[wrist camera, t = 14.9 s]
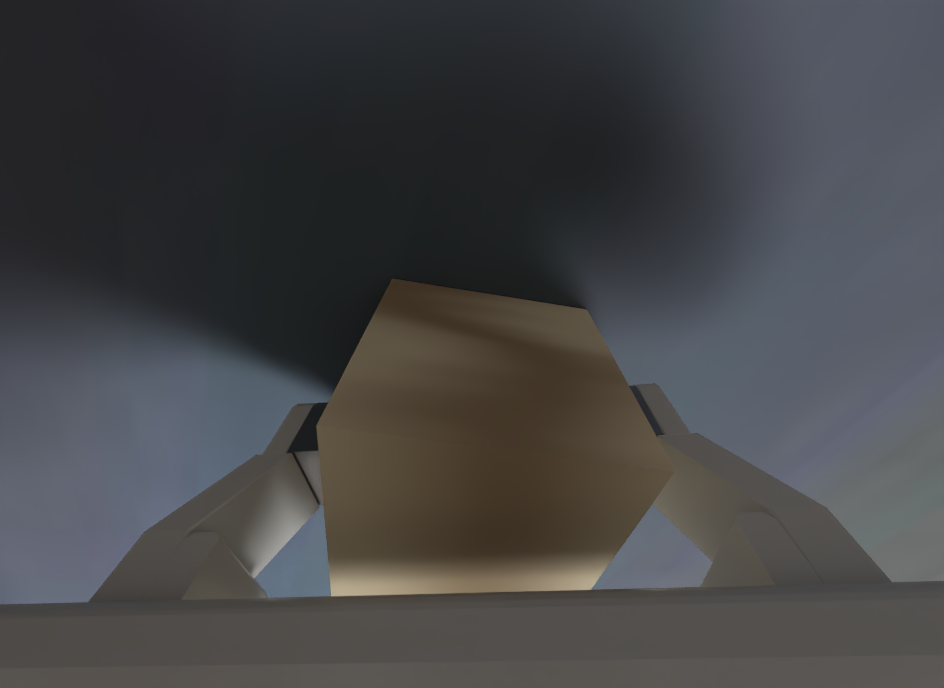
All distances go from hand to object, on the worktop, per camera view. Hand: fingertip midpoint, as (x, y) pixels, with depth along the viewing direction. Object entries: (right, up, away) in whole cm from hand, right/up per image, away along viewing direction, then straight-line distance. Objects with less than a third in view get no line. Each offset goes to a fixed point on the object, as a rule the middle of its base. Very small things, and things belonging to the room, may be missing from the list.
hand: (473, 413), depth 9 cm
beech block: (0, +1, +1) cm, 2 cm away
